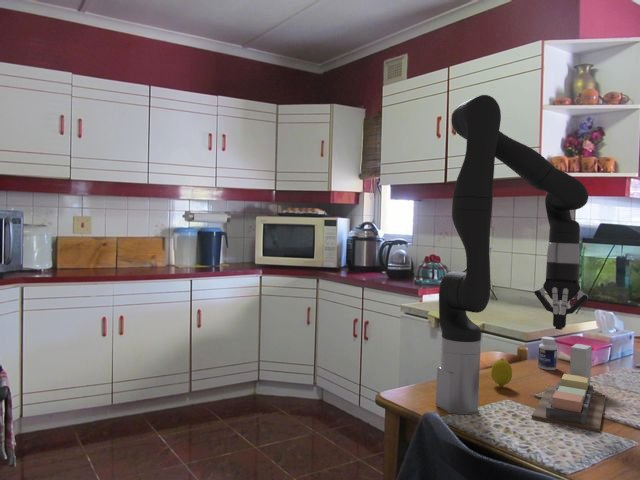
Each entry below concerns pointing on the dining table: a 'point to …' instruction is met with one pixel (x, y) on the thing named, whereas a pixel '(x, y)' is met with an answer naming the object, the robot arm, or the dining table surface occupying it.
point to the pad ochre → (575, 381)
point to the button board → (583, 420)
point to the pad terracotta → (567, 401)
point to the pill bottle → (547, 354)
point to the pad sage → (573, 391)
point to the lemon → (501, 372)
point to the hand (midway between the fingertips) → (559, 329)
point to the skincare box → (581, 361)
